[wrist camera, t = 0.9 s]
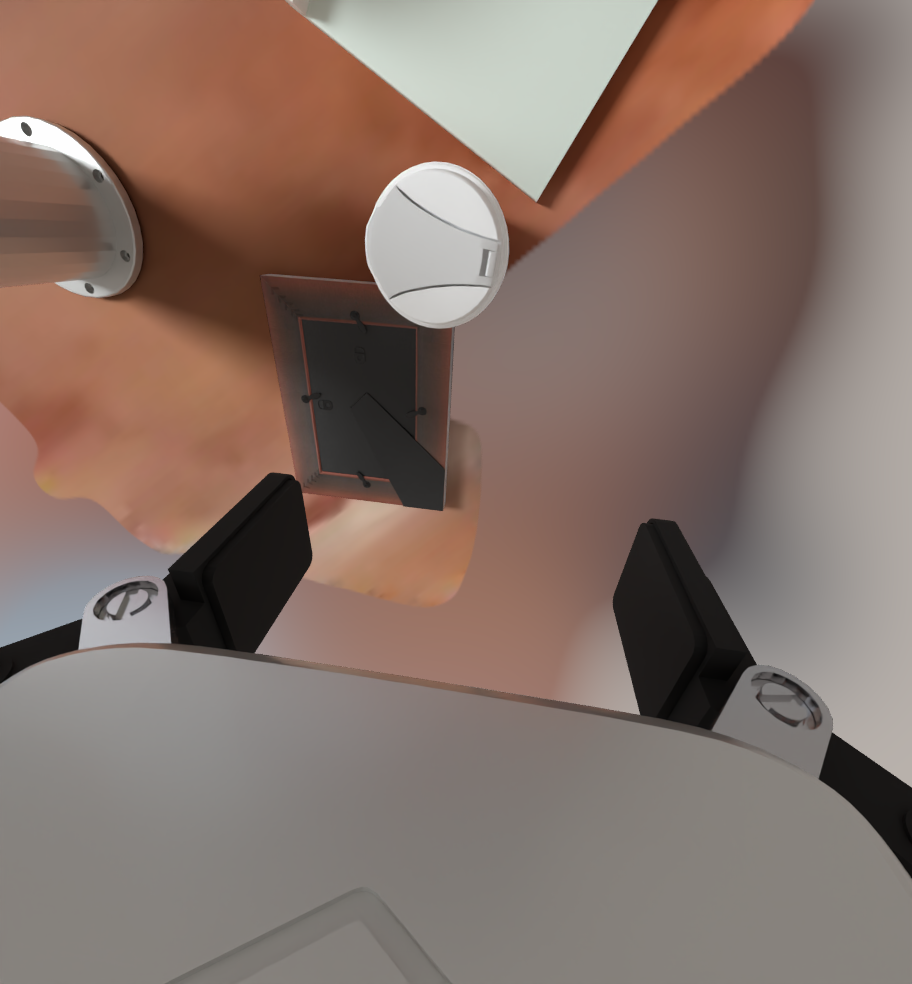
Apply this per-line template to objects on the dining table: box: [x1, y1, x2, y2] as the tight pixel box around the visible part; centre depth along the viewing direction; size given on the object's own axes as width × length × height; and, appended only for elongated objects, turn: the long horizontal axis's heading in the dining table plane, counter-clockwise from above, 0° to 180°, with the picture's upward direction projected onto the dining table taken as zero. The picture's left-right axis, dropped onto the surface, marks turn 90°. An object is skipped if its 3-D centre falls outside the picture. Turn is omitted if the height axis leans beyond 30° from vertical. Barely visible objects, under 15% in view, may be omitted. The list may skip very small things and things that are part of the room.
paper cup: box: [365, 162, 509, 329], centre depth 27 cm, size 8×8×14 cm
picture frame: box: [260, 274, 455, 511], centre depth 40 cm, size 16×2×22 cm
